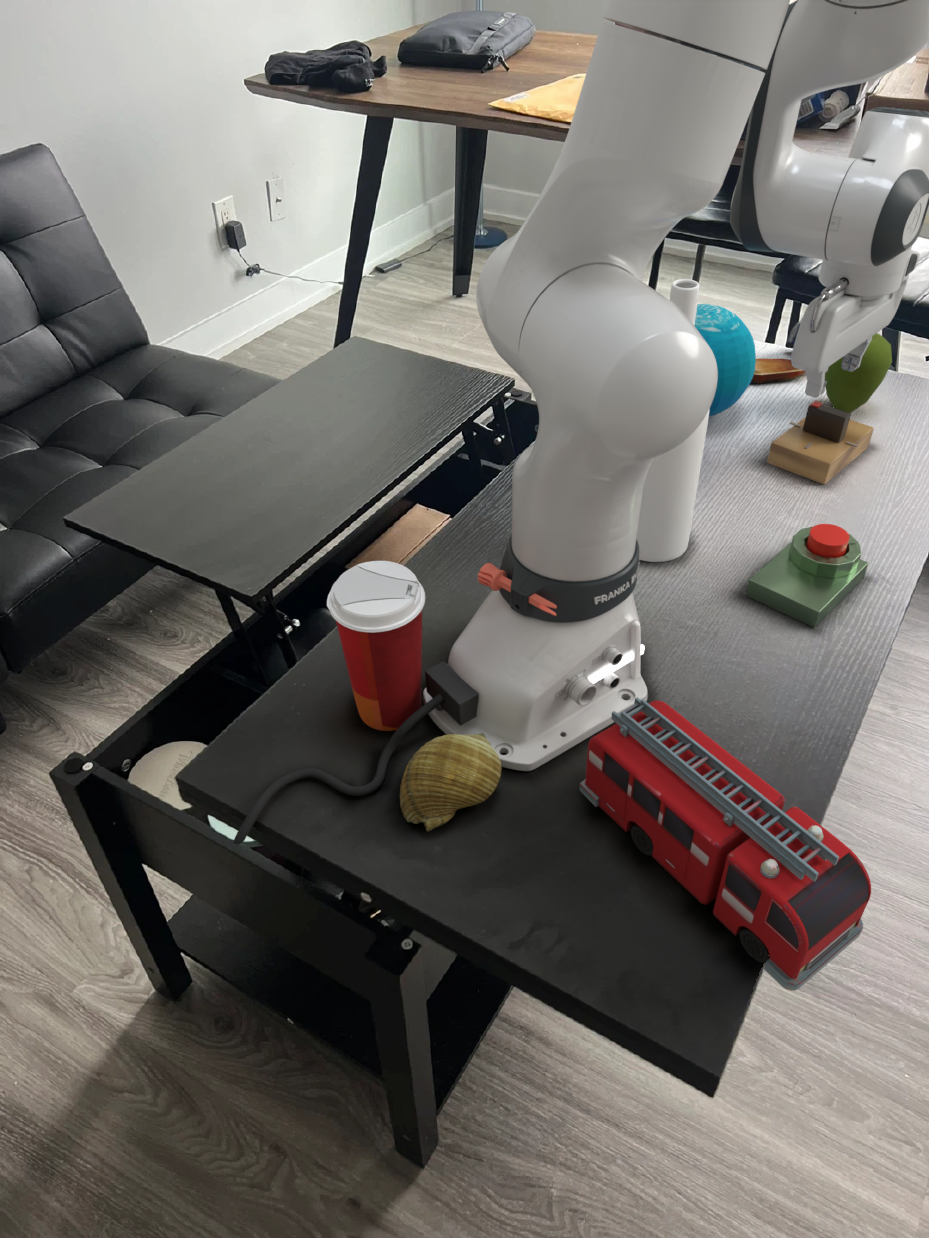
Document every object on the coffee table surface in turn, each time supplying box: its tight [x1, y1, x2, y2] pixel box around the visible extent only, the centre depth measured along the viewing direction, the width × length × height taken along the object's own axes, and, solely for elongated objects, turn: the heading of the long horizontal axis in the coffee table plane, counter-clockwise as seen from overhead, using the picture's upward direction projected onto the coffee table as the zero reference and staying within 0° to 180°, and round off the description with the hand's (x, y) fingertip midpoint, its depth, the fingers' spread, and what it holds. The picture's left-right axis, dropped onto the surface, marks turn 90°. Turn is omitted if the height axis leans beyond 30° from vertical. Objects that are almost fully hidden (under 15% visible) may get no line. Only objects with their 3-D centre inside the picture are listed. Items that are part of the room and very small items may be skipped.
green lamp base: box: [745, 526, 869, 629], centre depth 97 cm, size 12×8×4 cm, turn 136°
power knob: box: [803, 400, 852, 443], centre depth 115 cm, size 5×2×4 cm, turn 46°
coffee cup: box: [326, 560, 426, 732], centre depth 81 cm, size 8×8×15 cm
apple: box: [825, 332, 893, 414], centre depth 124 cm, size 9×8×12 cm
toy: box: [579, 697, 872, 992], centre depth 69 cm, size 8×22×10 cm, turn 36°
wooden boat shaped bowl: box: [750, 358, 806, 385], centre depth 135 cm, size 14×6×2 cm, turn 87°
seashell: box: [399, 733, 503, 832], centre depth 77 cm, size 10×7×8 cm
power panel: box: [766, 416, 875, 485], centre depth 117 cm, size 12×9×3 cm
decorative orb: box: [694, 303, 757, 418], centre depth 123 cm, size 15×15×15 cm
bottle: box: [636, 278, 710, 563], centre depth 95 cm, size 8×8×30 cm
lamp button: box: [807, 523, 850, 558], centre depth 97 cm, size 4×4×2 cm
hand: (832, 381), depth 112 cm, fingers open, 8 cm apart
